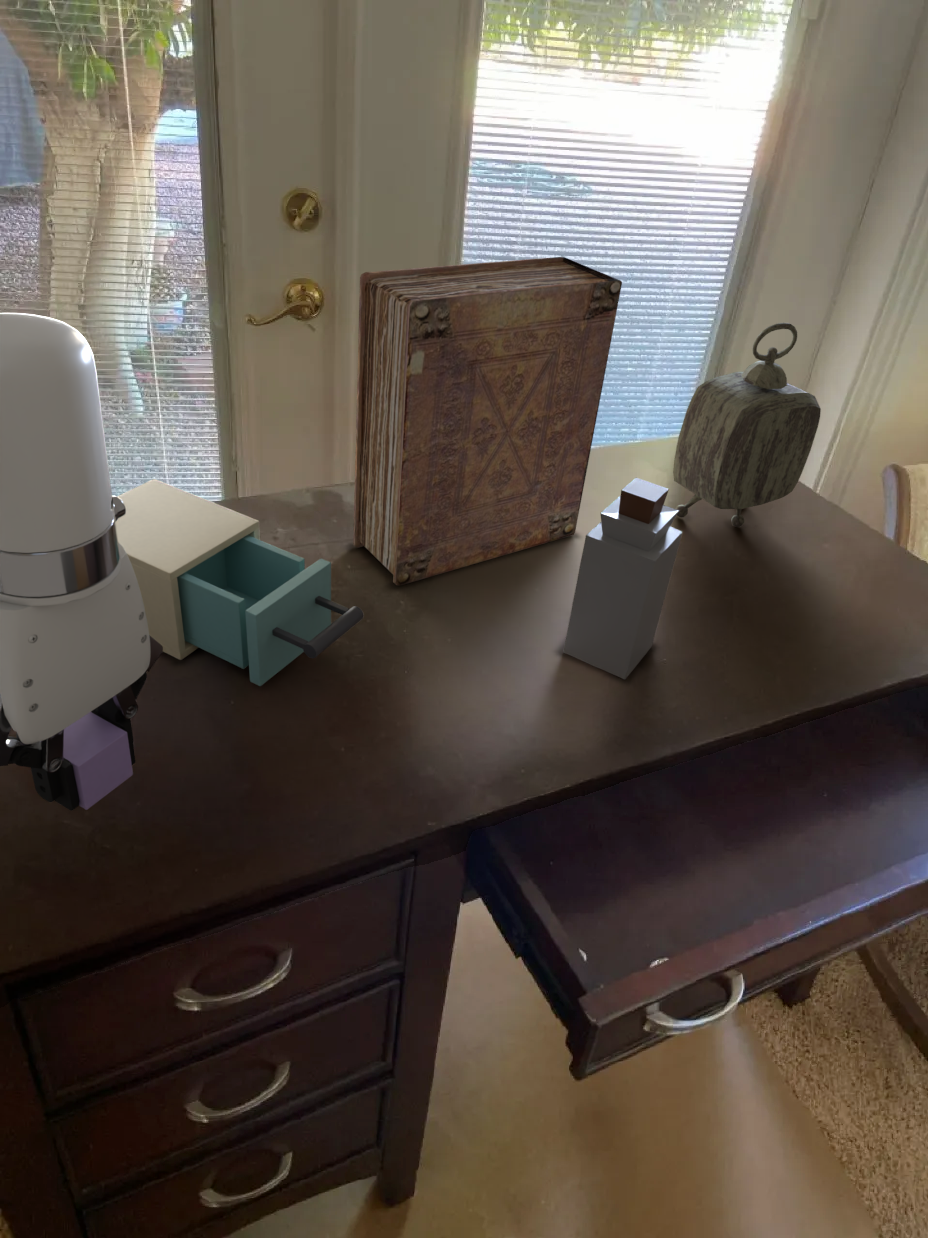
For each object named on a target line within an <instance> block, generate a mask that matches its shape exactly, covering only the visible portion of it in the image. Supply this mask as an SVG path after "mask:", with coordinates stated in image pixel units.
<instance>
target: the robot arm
mask: <svg viewBox="0 0 928 1238" xmlns="http://www.w3.org/2000/svg"><path fill="white" fill-rule="evenodd" d="M98 381H99V380H98V373H97V369H96V361H95V356H94V353H93V350H92V348H91V346H90V344H89V342H88V341H87V339H86V337H84V336H83V334H82V333H81V332H80V331H79V330H78V329H76V328H75V327H73V326H71V325H70V324H68V323H67V322H65V321H62V320H59V319H56V318H52V317H48V316H45V315H38V314H34V313H24V312H0V767H5V766H6V767H7V766H9V765H15V766H18V767H25V768H30V771H31V776H32V779H33V784H34V788H35V791H36V793H37V794H38V795H39V797H41V798H42V800H45V801H46V802H48V803H53V802H56V803H57V804H59V805H60V806H62V807H64V808H65V809H67V810H68V811H70V812H72V811H74V810H75V809H77V808H78V807H80V806H79V802H80V801H79V796H78V791H77V785H76V780H75V775H74V770H73V766H72V764H71V763H70V761H69V760H67V759H65V758H64V757H63V750H64V729H65V728H66V727H68V726H70V725H71V724H73V723H74V722H76V721H77V720H79V719H80V718H82V717H83V716H85V715H86V714H88V713H89V712H92V713H93V714H95V715H97V716H99V717H100V718H102V719H104V720H106V721H108V722H109V723H111V724H113V725H115V726H116V727H118V728H120V729H122V730H124V731H126V732H127V735H128V742H129V750H130V757H131V764H132V766H134V765H135V764H136V763H137V761H136V755H135V748H134V747H135V746H134V733H133V725H132V719H133V718H134V717H135V716H136V714H137V713H138V711H139V705H138V702H137V698H138V697H139V694H140V693H141V691H142V689H143V687H144V685H145V683H146V681H147V678H148V674H147V672H148V673H149V672H150V671H151V669H152V668H153V667H154V665H155V664H156V662H157V661H158V659H159V658H160V656H161V655H162V654H163V646H162V645H161V644H160V643H158V642H157V641H156V640H155V639H154V638H152V637H151V636H150V635H149V630H148V623H147V618H146V613H145V608H144V604H143V599H142V595H141V591H140V588H139V585H138V581H137V578H136V575H135V572H134V570H133V567H132V564H131V562H130V560H129V557H128V555H127V553H126V551H125V549H124V547H123V546H122V545H121V544H120V543H118V536H117V529H116V521H117V520H118V518H120V517H122V516H124V515H125V513H126V508H125V505H124V503H123V501H122V500H121V499H120V498H119V497H117V496H118V495H113V491H112V483H111V477H110V467H109V459H108V451H107V442H106V435H105V428H104V419H103V413H102V411H103V410H102V405H101V398H100V390H99V389H100V388H99V382H98ZM11 730H13V731H14V732H16V736H9V735H10V733H11ZM40 741H41V742H40Z"/></svg>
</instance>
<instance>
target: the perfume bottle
mask: <svg viewBox="0 0 928 1238" xmlns="http://www.w3.org/2000/svg"><path fill="white" fill-rule="evenodd" d="M669 490H670V489H669V488H668V487H665V486H663V485H660V484H657V483H653V482H651V481H647V480H644V479H642V478H640V477H634V478H633V479H632V480H631V481H630V482H629V483H627V485H625V486H624V487H623V488H622V489H621V490H620V495H619V496H618V497H617V498H616V499H615V500H613V501H612V502H611V503H610V504H609V505H607V506H606V507H605V508H604V509H603V510H602V511H600V522H598V524H597V525H596V526H595V527H594V528H592V529H591V530H590V531H588V533H586V535H585V539H584V542H583V543H584V544H583V547H582V553H581V559H580V564H579V569H578V574H577V579H576V584H575V590H574V595H573V600H572V604H571V610H570V615H569V620H568V625H567V630H566V635H565V641H564V645H563V649H562V651H563V654H566V655H567V656H570V657H573V658H574V659H577V660H579V661H582V662H584V663H586V664H587V665H590V666H593V667H595V668H598V669H599V670H602V671H604V672H607V673H609V674H611V675H612V676H613V675H614V676H615V677H617V678H618V677H619V678H621V679H622V680H626V679H627V678H628V676H629V675H630V674H631V673H632V672H633V671H634V670H635V668H636V667H637V665H638V664H639V663H640V662H641V660H642V659H644V657H645V655H646V654H647V653H648V652H649V651H650V650H651V648H652V647H653V644H654V641H655V636H656V632H657V629H658V625H659V622H660V618H661V614H662V610H663V607H664V603H665V599H666V596H667V592H668V588H669V584H670V581H671V577H672V573H673V569H674V566H675V561H676V559H677V556H678V555H677V554H678V551H679V547H680V543H681V540H682V536H683V533H684V531H683V530H680V529H677V528H675V527H672V524H673V522H674V520H675V519H676V517H677V513H678V511H679V510H676V508H673V507H671V506H668V505H665V502H666V499H667V496H668V493H669Z"/></svg>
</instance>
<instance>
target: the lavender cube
mask: <svg viewBox="0 0 928 1238" xmlns="http://www.w3.org/2000/svg"><path fill="white" fill-rule="evenodd" d="M40 742H41V741H40ZM63 757H64V758H65V759H67V760H69V761H70V763H71V764H72V766H73V770H74V775H75V780H76V785H77V791H78V796H79V801H80V802H79V806H78V807H80V808H82V809H83V810H86V811H87V810H89V809H90V808H92V807H93V806H94V805H96V804H97V803H98V802H99V801H100V800H102V799H103V798H105V797H106V796H107V795H108V794H110V793H111V792H112V791H114V790H115V789H117V788H118V787H119V786H120V785H121V784H123V783H124V782H125V781H127V780H128V779H129V778H131V777H132V776H133V775H134V772H133V765H132V764H131V757H130V750H129V742H128V735H127V732H126V731H124V730H122V729H120V728H118V727H116V726H115V725H113V724H111V723H109V722H108V721H106V720H104V719H102V718H100V717H99V716H97V715H95V714H93V713H92V712H89V713H88V714H86V715H85V716H83V717H82V718H80V719H79V720H77V721H76V722H74V723H73V724H71V725H70V726H68V727H66V728H65V729H64V750H63Z"/></svg>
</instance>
